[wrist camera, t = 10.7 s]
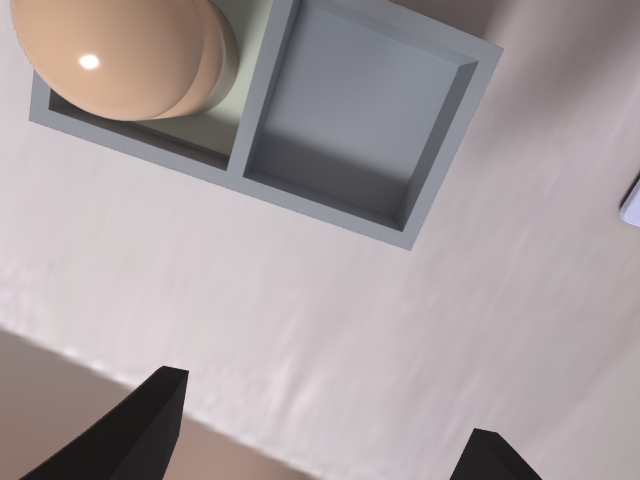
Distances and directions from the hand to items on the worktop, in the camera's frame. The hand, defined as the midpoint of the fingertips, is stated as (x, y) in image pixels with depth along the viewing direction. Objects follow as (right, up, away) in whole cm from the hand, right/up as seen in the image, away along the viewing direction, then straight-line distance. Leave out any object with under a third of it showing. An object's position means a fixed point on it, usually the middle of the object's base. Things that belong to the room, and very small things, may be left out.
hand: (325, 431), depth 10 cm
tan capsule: (-5, +12, +5) cm, 14 cm away
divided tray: (-2, +11, +6) cm, 13 cm away
